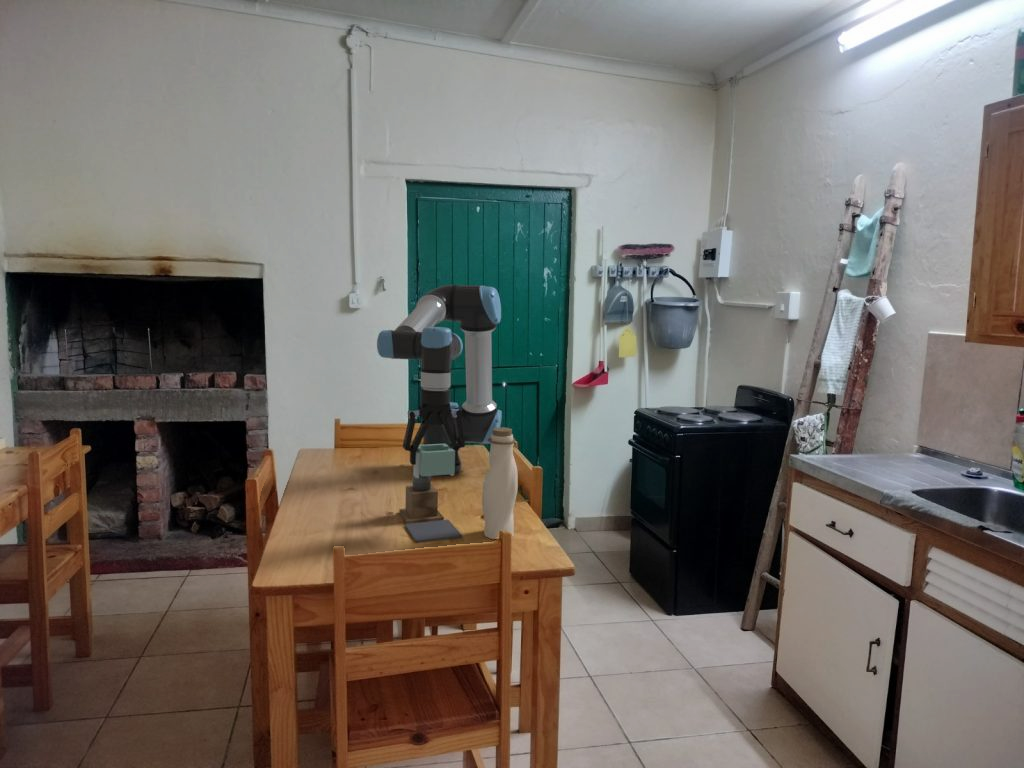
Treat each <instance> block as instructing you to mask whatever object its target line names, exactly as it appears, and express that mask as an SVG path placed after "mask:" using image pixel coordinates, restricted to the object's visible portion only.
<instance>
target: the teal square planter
mask: <svg viewBox="0 0 1024 768" xmlns="http://www.w3.org/2000/svg"><path fill="white" fill-rule="evenodd" d="M417 451H418V452H419V474H420V475H421V476H431V477H432V476H449V475H448V474H454V475H455V451H454V450H453V449H452V448H451V447H449V446H448V445H447V444H427V445H423V444H420V445H419V447H418V449H417Z"/></svg>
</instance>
